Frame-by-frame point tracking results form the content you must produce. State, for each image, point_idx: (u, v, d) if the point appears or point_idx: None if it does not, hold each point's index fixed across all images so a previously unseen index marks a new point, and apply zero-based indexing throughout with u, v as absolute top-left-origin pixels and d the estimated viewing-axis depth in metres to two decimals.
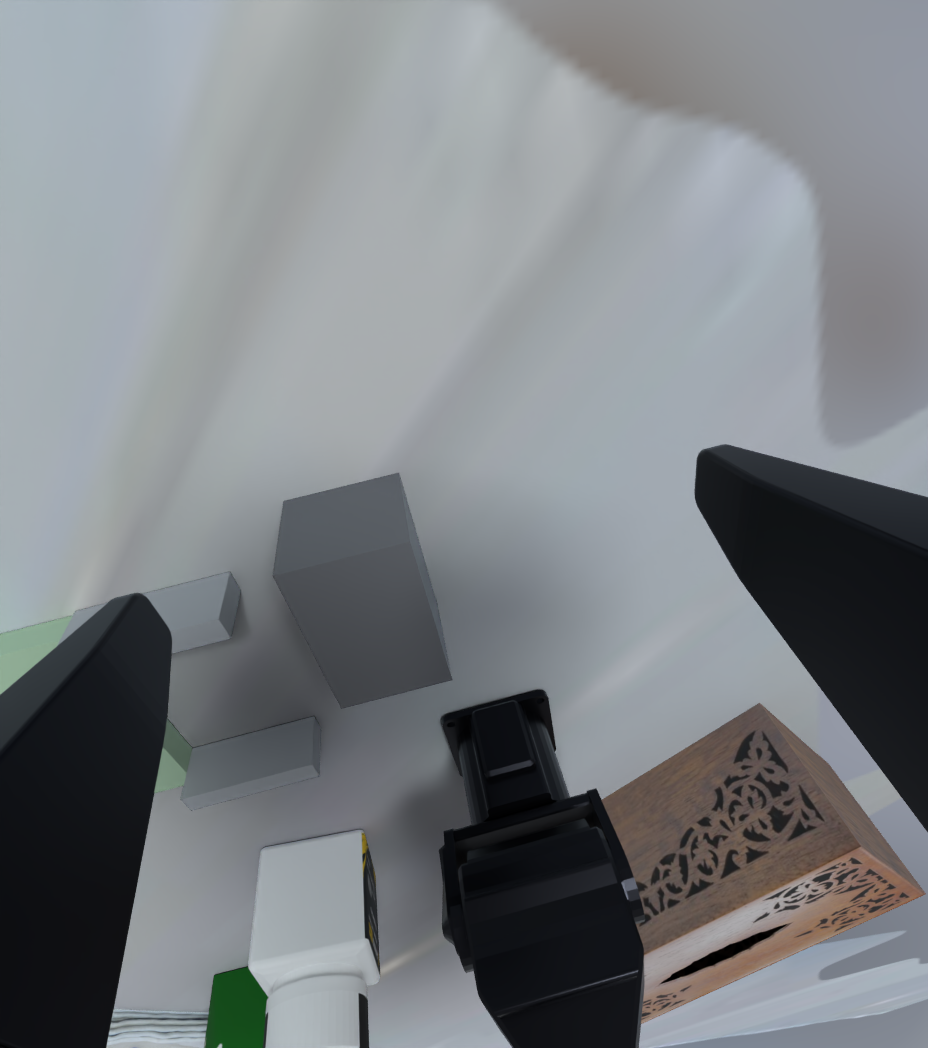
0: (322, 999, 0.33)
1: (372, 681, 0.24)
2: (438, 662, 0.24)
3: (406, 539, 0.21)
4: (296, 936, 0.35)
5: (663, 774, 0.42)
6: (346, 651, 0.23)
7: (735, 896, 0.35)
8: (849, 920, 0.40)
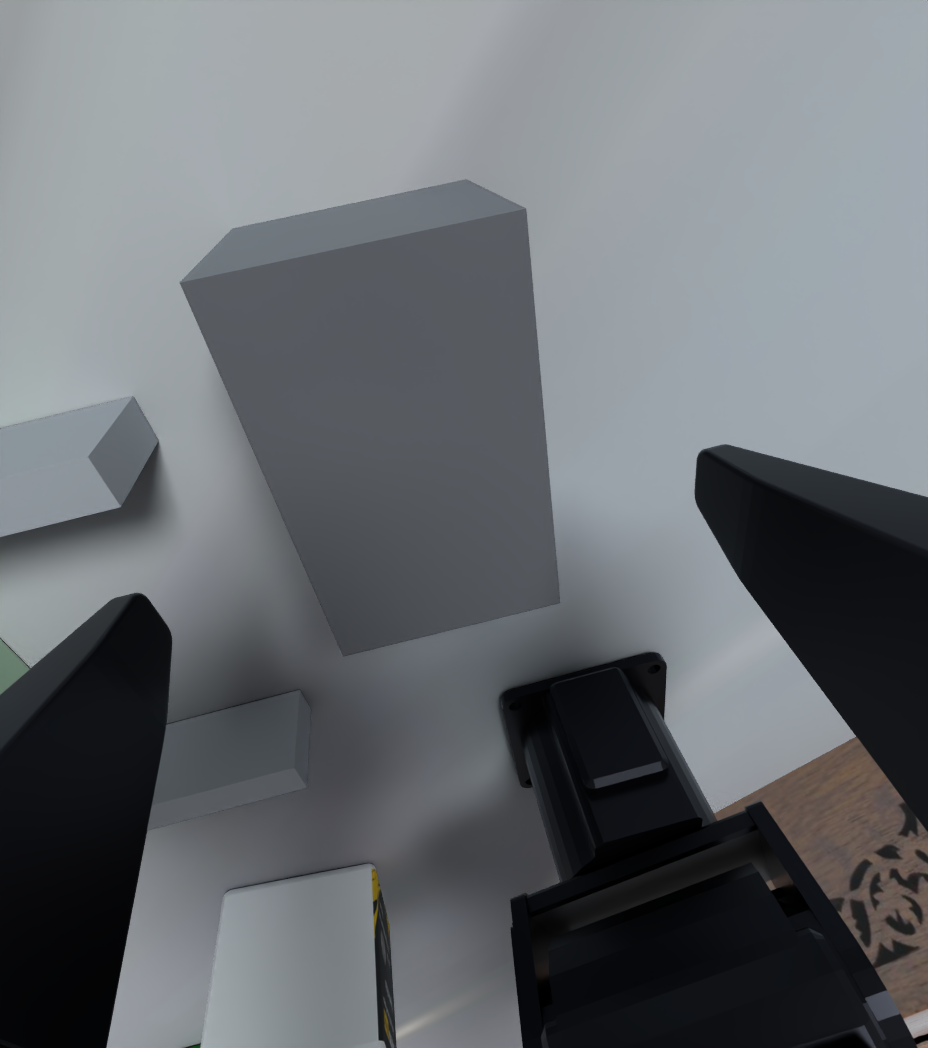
0: None
1: (408, 599, 0.12)
2: (541, 562, 0.12)
3: (513, 209, 0.08)
4: (272, 1036, 0.23)
5: (807, 781, 0.29)
6: (358, 524, 0.11)
7: None
8: None
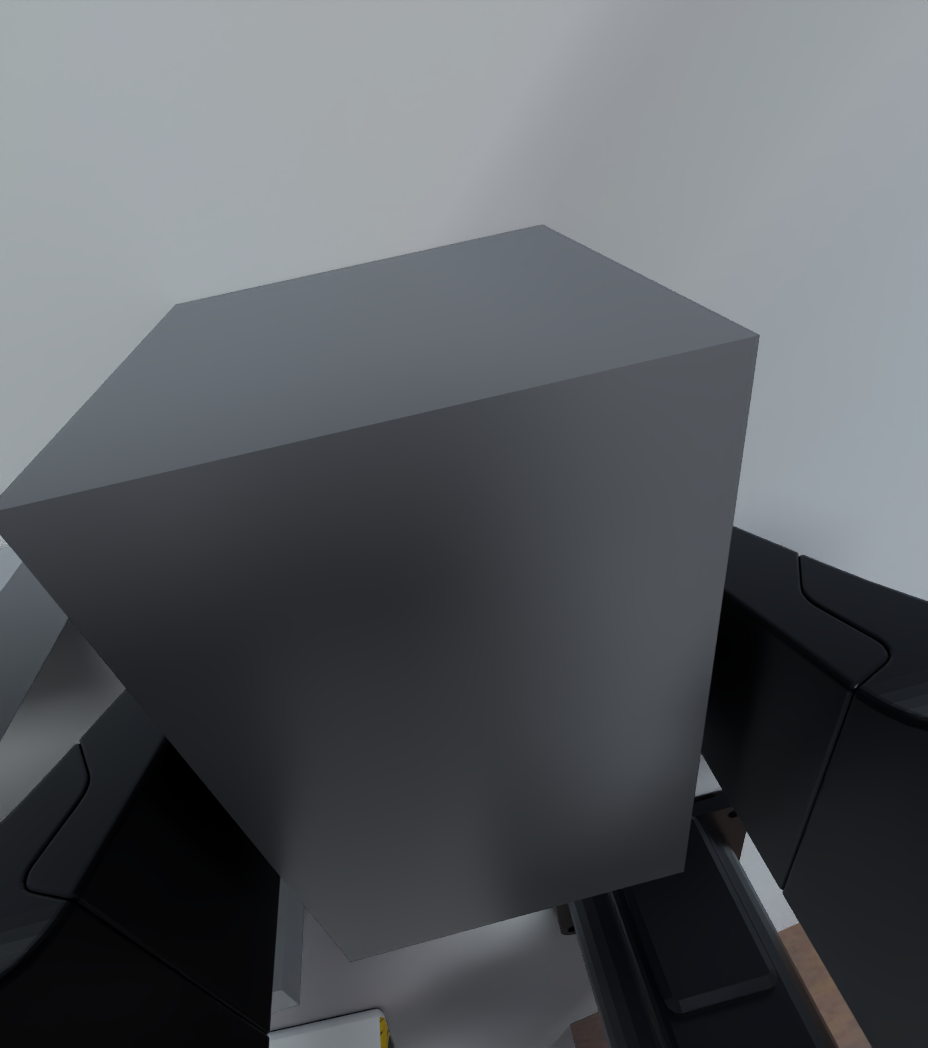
0: None
1: (453, 895, 0.08)
2: (665, 834, 0.08)
3: (724, 330, 0.04)
4: None
5: None
6: (378, 826, 0.06)
7: None
8: None
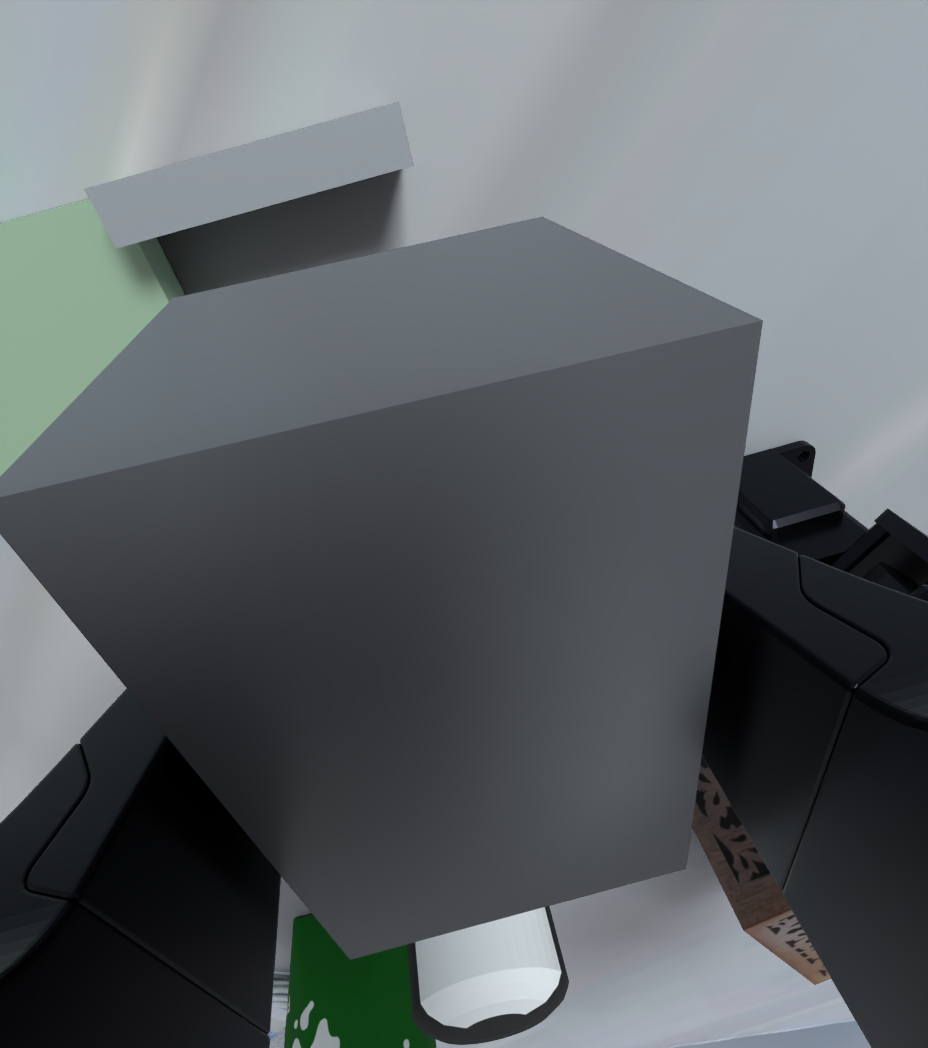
0: None
1: (454, 893, 0.08)
2: (667, 830, 0.08)
3: (725, 316, 0.04)
4: None
5: None
6: (376, 823, 0.06)
7: None
8: None
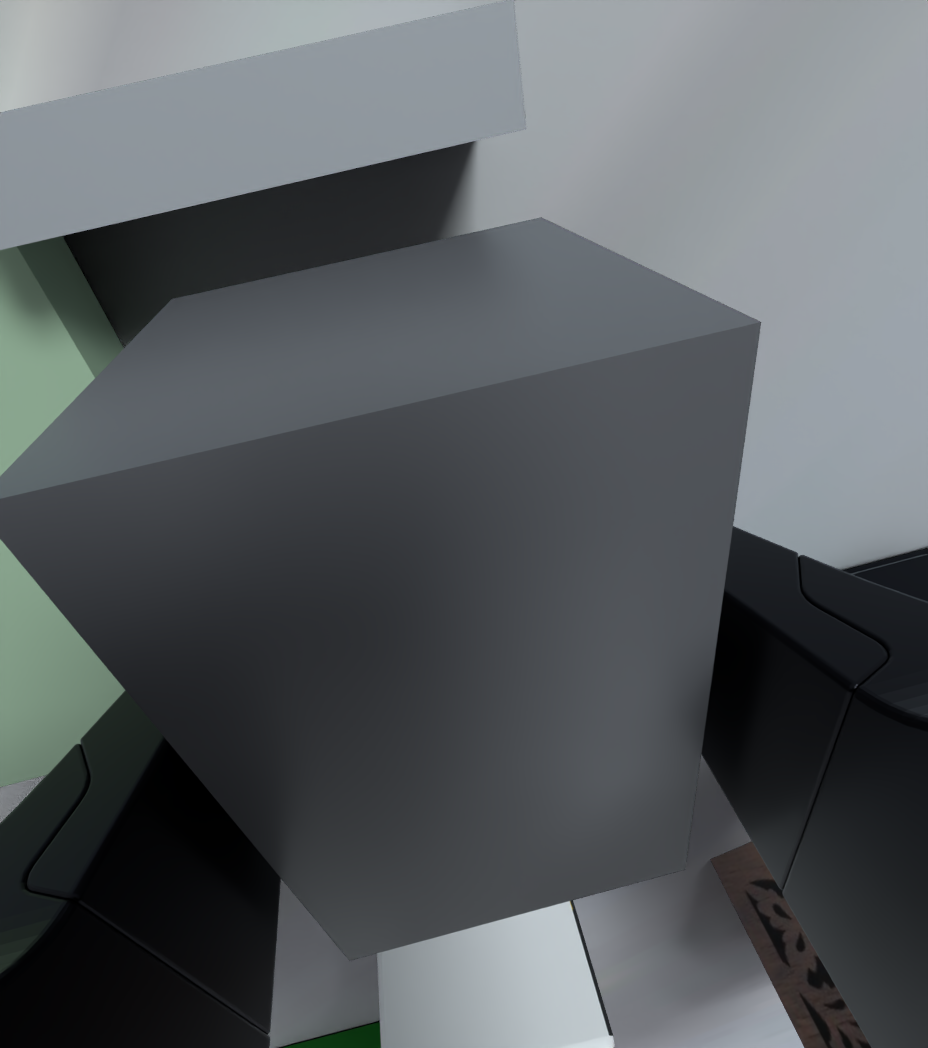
0: None
1: (452, 894, 0.08)
2: (667, 831, 0.08)
3: (724, 319, 0.04)
4: (473, 1029, 0.18)
5: None
6: (375, 824, 0.06)
7: None
8: None
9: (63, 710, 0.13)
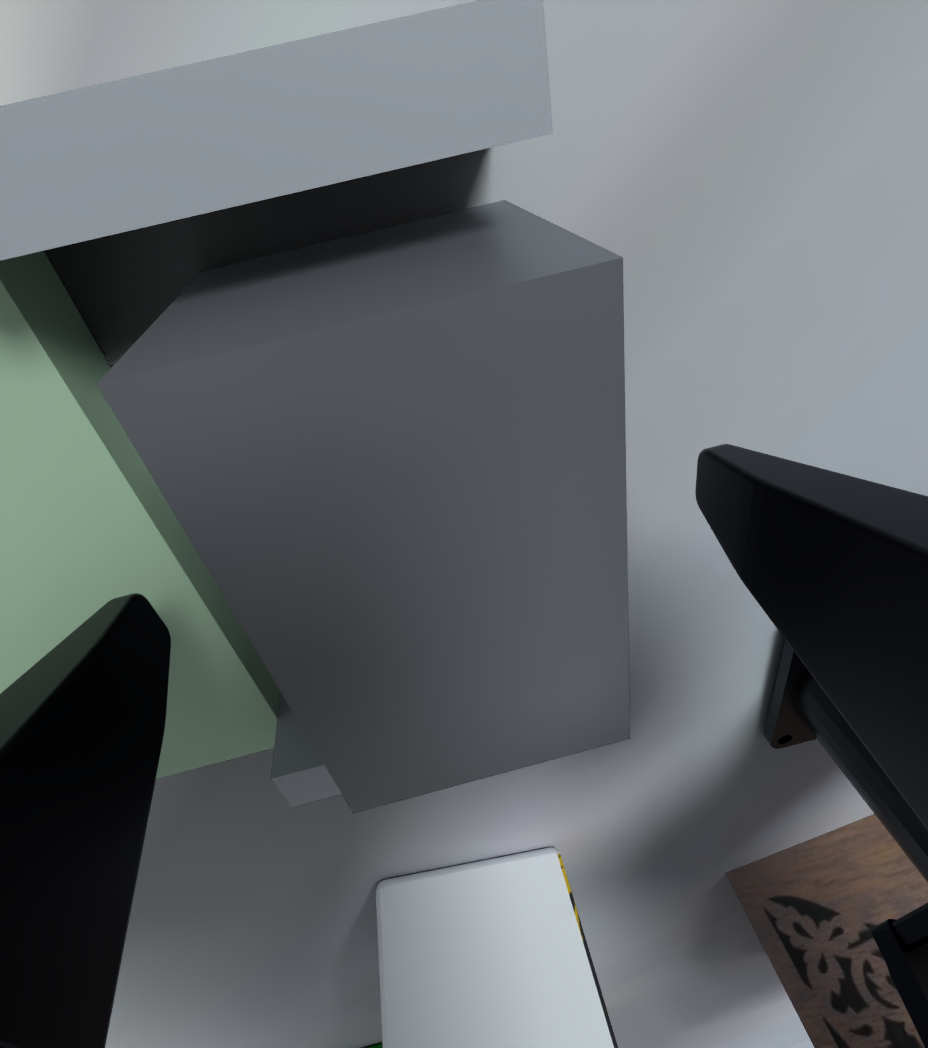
0: None
1: (436, 748, 0.09)
2: (609, 697, 0.09)
3: (601, 257, 0.06)
4: None
5: None
6: (371, 671, 0.08)
7: None
8: None
9: None
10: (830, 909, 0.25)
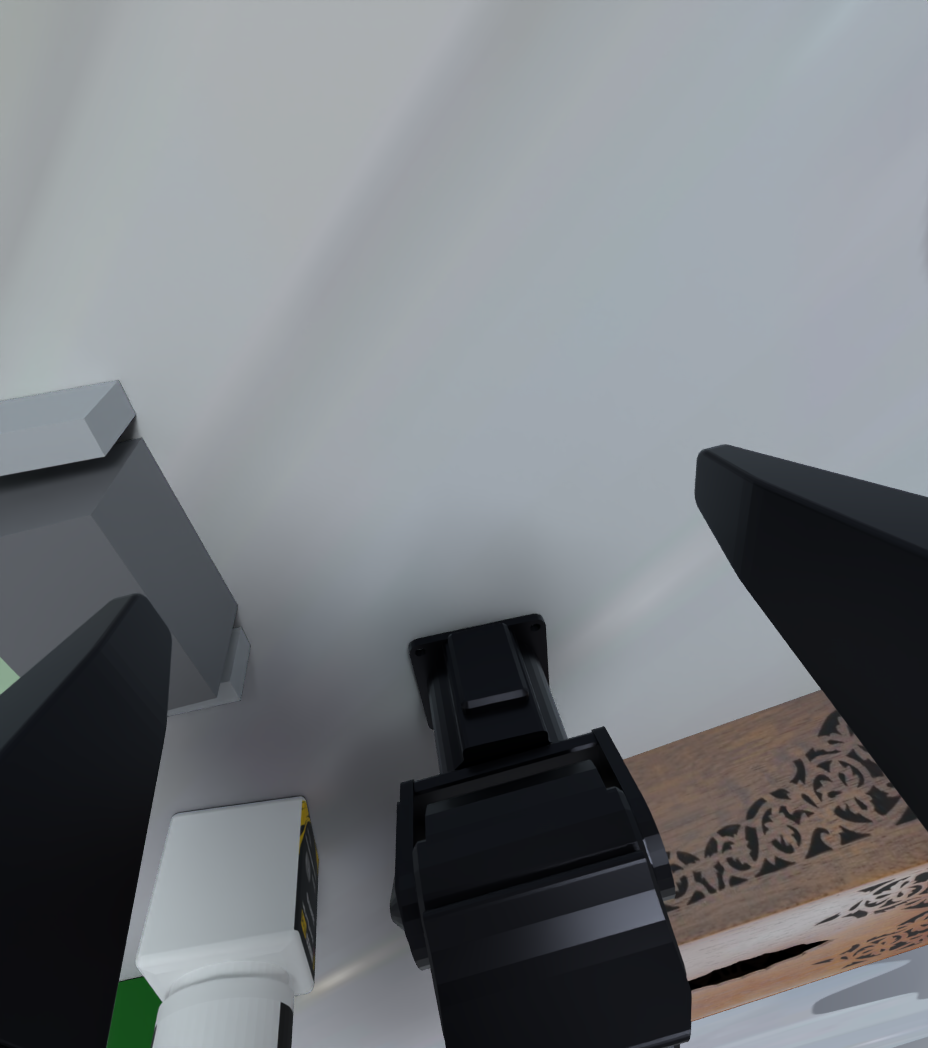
0: (229, 1008, 0.25)
1: None
2: (190, 675, 0.19)
3: (88, 512, 0.16)
4: (204, 924, 0.27)
5: (722, 737, 0.35)
6: None
7: (827, 881, 0.28)
8: (867, 955, 0.35)
9: None
10: None
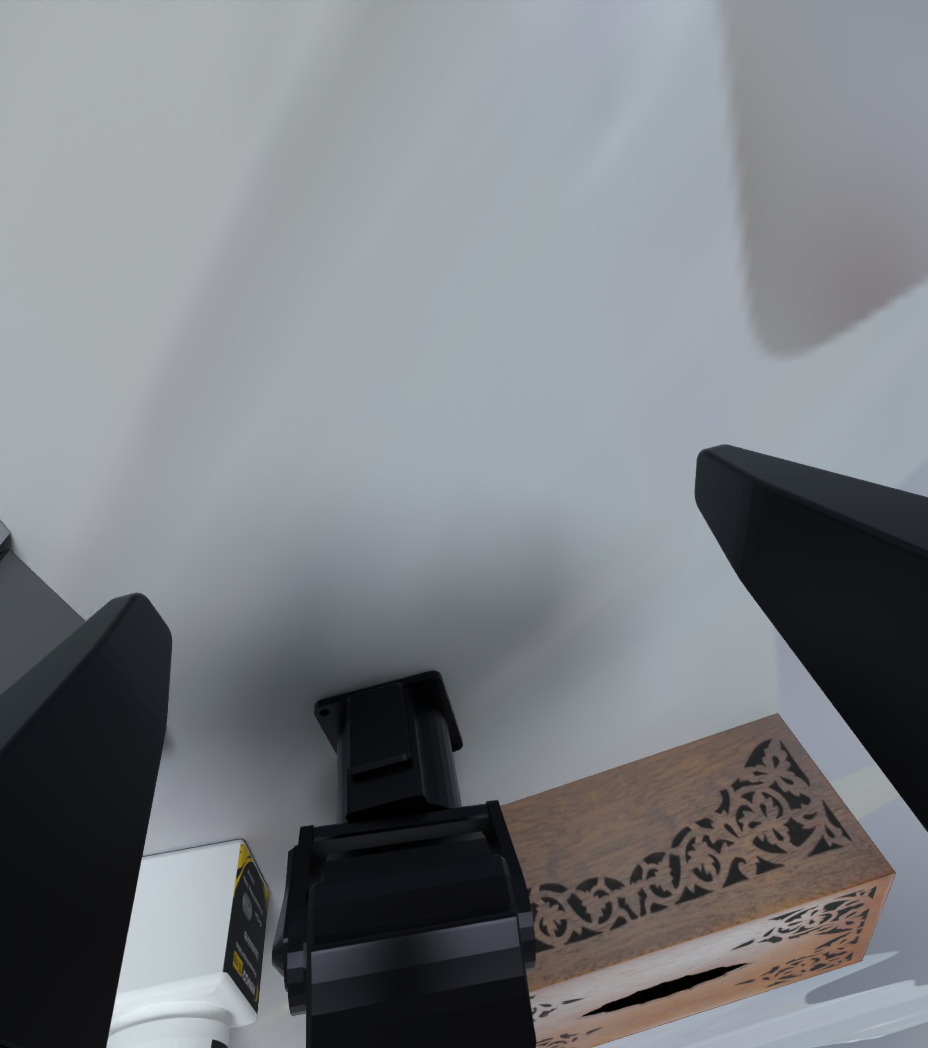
0: None
1: None
2: None
3: None
4: (141, 968, 0.29)
5: (655, 766, 0.36)
6: None
7: (740, 909, 0.30)
8: (788, 975, 0.36)
9: None
10: None
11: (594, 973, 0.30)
